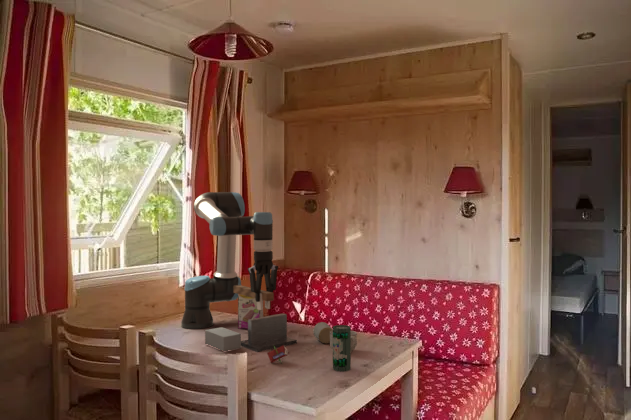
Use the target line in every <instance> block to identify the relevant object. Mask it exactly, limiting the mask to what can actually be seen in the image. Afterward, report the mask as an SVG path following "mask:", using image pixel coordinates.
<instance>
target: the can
mask: <svg viewBox="0 0 631 420" xmlns="http://www.w3.org/2000/svg"><path fill="white" fill-rule="evenodd" d="M332 329H333V349H332V369H333V371H336V372H348V371H350V370H351V368H352V367H351V365H352V364H351V362H352V361H351V359H352V358H351V353H352V352H351V331H352V330H351V326H350V325H347V324H345V325H344V324H336V325H334V326H332Z"/></svg>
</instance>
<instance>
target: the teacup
mask: <svg viewBox="0 0 631 420" xmlns="http://www.w3.org/2000/svg"><path fill="white" fill-rule="evenodd" d="M357 336H358V332H357V331H354V330H351V353H352V352H353V351H354V350H355V349H356V347H357V345H358V339H357ZM329 346H330V348H331V349H332V350H333V330H332V331H330V343H329Z"/></svg>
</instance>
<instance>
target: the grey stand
mask: <svg viewBox="0 0 631 420" xmlns="http://www.w3.org/2000/svg"><path fill="white" fill-rule="evenodd" d="M241 334H242V333H241V332H237V331H234V330H231V329H228V328H225V327H222V326H221V327H216V328H215V327H214V328H210V329H205V330H204V345H205V344H208V345H211V346H213V347H216V348H218V349H220V350H223V351H227V352H229V351H228V350H231V351H234V350H235V351H236V350H240V349H242V346H241V341H242V335H241ZM208 345H207V346H208ZM213 347H212V348H213ZM220 350H219V351H220Z"/></svg>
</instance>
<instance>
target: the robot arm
mask: <svg viewBox="0 0 631 420" xmlns="http://www.w3.org/2000/svg"><path fill="white" fill-rule="evenodd" d="M245 207H246V206H245V202H244V198H243V196H242V194H241V193H239V192H233V191H228V192H227V191H220V192H219V191H218V192H217V191H216V192H215V191H214V192H213V191H208V192H204V193H202V194H200V195H199V196H198V197H197V198H196V199H195V201H194V203H193V210H194V213H195V214H196V216H198V217H199V218H201V219H203V220H205V221H206V222H207V223H208V224H209V231H210V234H211V235H212V236H217V259H216V260H217V262H216V271H215V272H214V273H213V278H210V276H209V275H198V276H197V275H196V276H193V277H190V278H188V279H186V280H185V282H184V312H183V315H182V319H181V321H180V323H181V324H180V325H181V326H180V327H182V328H183V329H191V330H192V329H194V330H195V329H206V328H210V327H213V325H214V317H213V315H212V311H211V309H210V305H211V303H220V302H230V301H236V300H238V294H237V293H234V288H233V286H236V285H241V286H242V280H241V278H240V277H239V275H238V273H237V272H236V271H235V270H236V268H235V267H236V250H237V249H236V248H237V247H236V246H237V236H246V235H247V236H248V235H253V250H254V252H253V261H254V263H253V265H252V266H251V267H248V268H247V271H248V274H249V283H250V288H251V292H254V293H255V300H256V302H257V309H258V310H262V294H261V290H262V283H263V277H264V283H265V289H266V290H265V291H268V292H272V293H274V291H276V290H277V276H278V269H279V265H276V264H274V263H273V259H274V256H273V254H274V253H273V251H272V250H273V248H274V247H273V239H274V238H273V230H274V229H273V226H274V225H273V223H274V221H273V214H272V212H269V211H256V212H254V214H253V215H250V216H244V215H245V209H246V208H245ZM264 309H267V310H270V309H271V301H264Z"/></svg>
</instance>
